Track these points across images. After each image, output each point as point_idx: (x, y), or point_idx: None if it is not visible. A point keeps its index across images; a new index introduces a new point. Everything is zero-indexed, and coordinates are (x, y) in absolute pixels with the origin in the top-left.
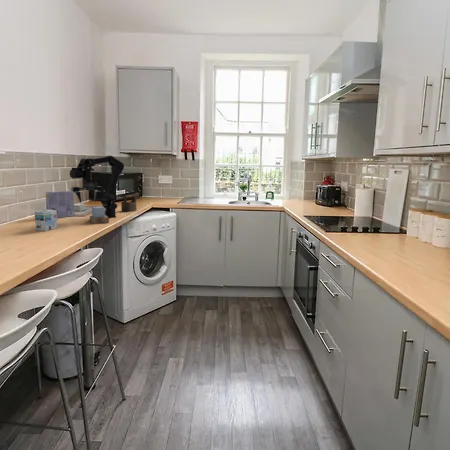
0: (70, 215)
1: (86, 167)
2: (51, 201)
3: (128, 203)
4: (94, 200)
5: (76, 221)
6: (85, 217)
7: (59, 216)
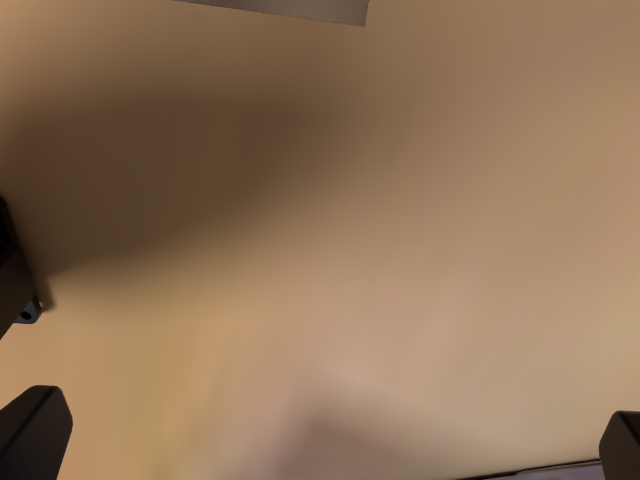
0: None
1: None
2: None
3: None
4: (58, 465)
5: (588, 101)
6: (315, 362)
7: None
